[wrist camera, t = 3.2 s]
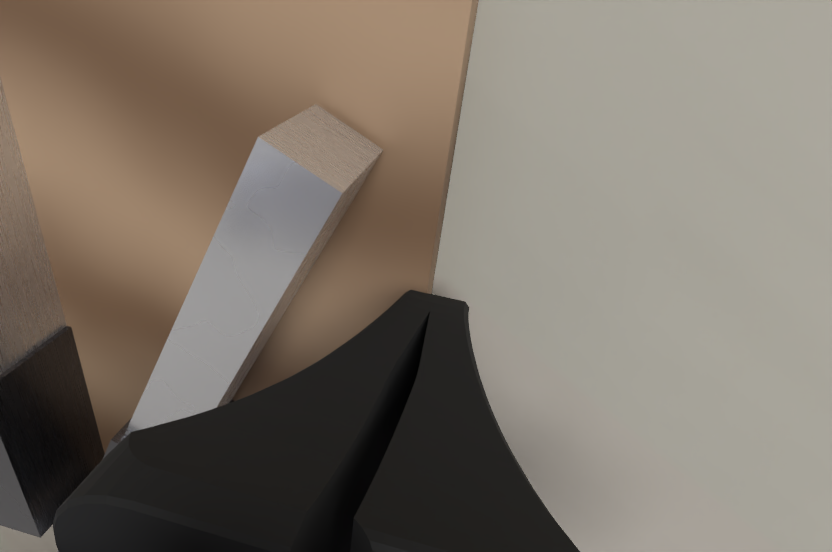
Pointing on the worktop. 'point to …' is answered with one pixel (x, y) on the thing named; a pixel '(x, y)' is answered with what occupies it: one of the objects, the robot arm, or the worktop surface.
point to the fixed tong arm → (35, 364)
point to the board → (224, 159)
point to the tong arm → (255, 263)
